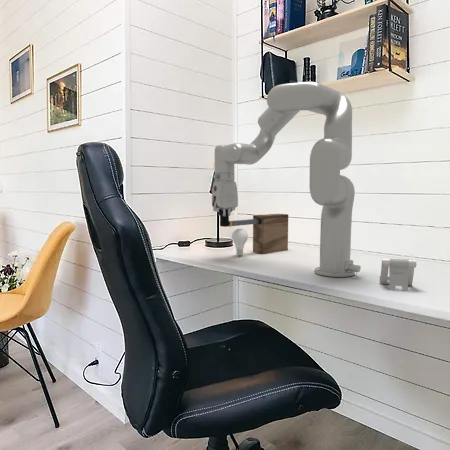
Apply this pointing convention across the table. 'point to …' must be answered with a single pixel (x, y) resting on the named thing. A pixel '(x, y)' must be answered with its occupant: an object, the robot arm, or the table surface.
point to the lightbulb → (239, 240)
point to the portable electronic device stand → (397, 273)
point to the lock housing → (270, 233)
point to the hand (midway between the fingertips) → (224, 226)
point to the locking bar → (244, 222)
